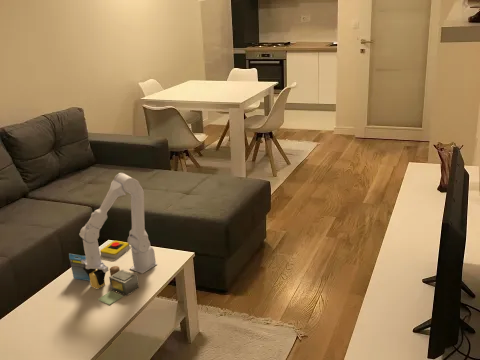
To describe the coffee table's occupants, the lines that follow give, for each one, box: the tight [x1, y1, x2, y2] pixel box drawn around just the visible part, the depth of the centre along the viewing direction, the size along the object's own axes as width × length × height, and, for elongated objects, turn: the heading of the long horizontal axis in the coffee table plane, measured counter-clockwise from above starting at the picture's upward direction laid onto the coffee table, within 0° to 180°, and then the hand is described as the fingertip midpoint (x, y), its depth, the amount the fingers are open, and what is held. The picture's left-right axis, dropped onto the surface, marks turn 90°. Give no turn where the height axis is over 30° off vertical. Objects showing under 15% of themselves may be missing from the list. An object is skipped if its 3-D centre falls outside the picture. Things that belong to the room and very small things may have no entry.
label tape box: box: [68, 253, 90, 282], centre depth 222 cm, size 9×4×12 cm, turn 70°
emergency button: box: [99, 240, 132, 262], centre depth 244 cm, size 9×4×15 cm
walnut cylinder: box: [109, 265, 121, 276], centre depth 219 cm, size 4×4×6 cm
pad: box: [97, 290, 124, 306], centre depth 208 cm, size 7×7×1 cm
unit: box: [109, 269, 140, 297], centre depth 213 cm, size 7×9×6 cm
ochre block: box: [89, 269, 106, 290], centre depth 216 cm, size 4×4×6 cm
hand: (97, 282), depth 217 cm, fingers open, 4 cm apart
